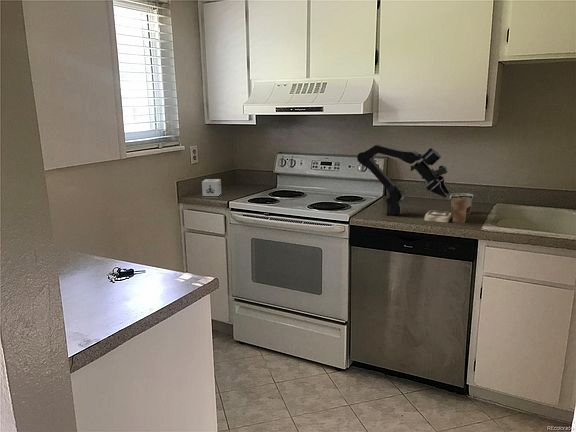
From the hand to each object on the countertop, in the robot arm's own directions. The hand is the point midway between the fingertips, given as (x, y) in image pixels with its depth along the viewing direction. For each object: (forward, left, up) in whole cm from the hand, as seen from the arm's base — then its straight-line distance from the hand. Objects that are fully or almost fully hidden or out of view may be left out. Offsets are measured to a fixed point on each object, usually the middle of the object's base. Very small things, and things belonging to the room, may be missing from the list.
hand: (447, 195), depth 231 cm
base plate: (-4, 0, -12) cm, 13 cm away
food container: (+4, +19, -12) cm, 23 cm away
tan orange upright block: (+6, 0, -12) cm, 14 cm away
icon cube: (-146, +9, -13) cm, 147 cm away
